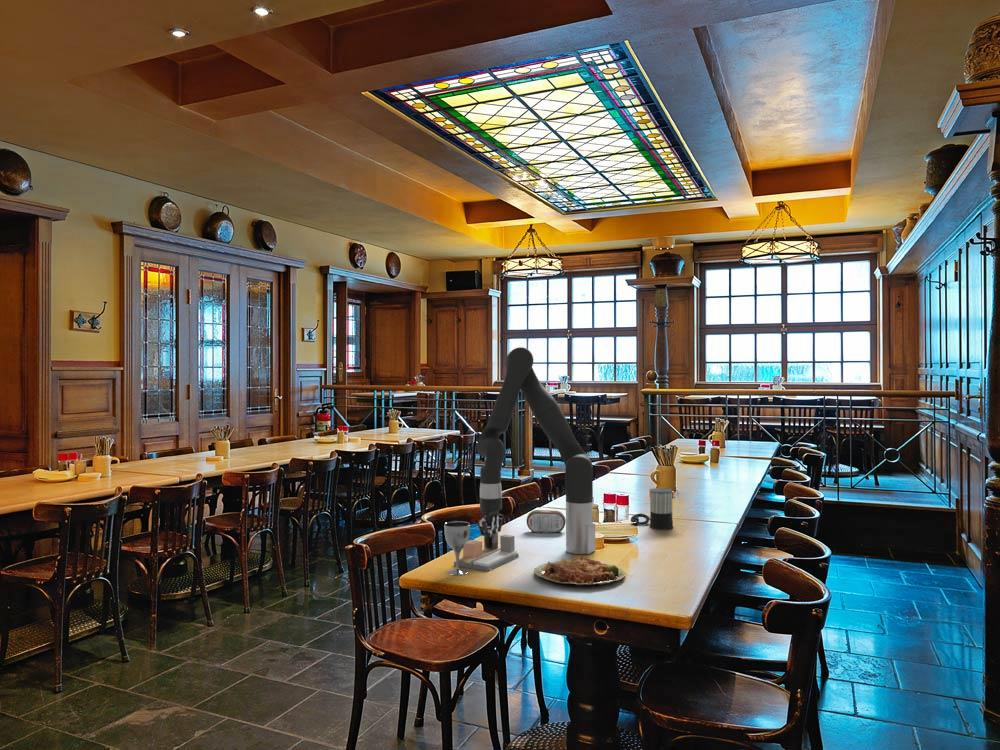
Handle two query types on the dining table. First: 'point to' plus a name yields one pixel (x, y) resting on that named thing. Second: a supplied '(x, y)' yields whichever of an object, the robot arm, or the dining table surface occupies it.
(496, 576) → the dining table surface
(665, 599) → the dining table surface
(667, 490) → the milk frother
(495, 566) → the lane board
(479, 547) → the terracotta block
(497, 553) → the grey strip
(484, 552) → the grey piece
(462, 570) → the wine glass
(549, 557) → the dining table surface
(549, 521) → the tin
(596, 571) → the rice dish
